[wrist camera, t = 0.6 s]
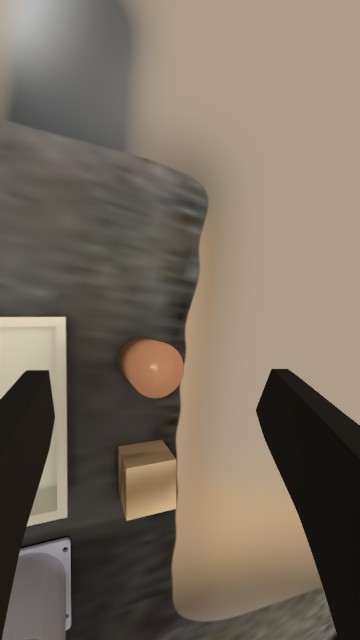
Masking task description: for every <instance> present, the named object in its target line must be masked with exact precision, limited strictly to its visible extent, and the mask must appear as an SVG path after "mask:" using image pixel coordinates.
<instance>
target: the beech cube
mask: <svg viewBox="0 0 360 640" xmlns="http://www.w3.org/2000/svg"><path fill="white" fill-rule="evenodd" d="M118 480H119V495H120V499H121V502H122V506H123V510H124V514H125V517H126V521H128V520H132V519H136V518H140V517H144V516H148V515H152V514H156V513H160V512H164V511H169V510H173V509H176V458H175V457H174V456H173V454H172V453H171V451H170V450H169V449H168V447H167V446H166V445H165V443H164V442H163V440H156V441H150V442H143V443H137V444H130V445H124V446H118Z"/></svg>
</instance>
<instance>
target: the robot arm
mask: <svg viewBox="0 0 360 640" xmlns="http://www.w3.org/2000/svg"><path fill="white" fill-rule="evenodd" d="M256 412H257V416H258V418H259V422H260V426H261V429H262V432H263V435H264V438H265V441H266V443H267V445H268V447H269V450H270V452H271V454H272V456H273V459H274V461H275V463H276V465H277V468H278V470H279V472H280V474H281V476H282V478H283V481H284V483H285V485H286V487H287V490H288V492H289V494H290V496H291V499H292V500H293V503H294V505H295V508H296V510H297V512H298V515H299V517H300V520H301V523H302V526H303V528H304V531H305V534H306V537H307V540H308V542H309V546H310V548H311V551H312V554H313V557H314V560H315V563H316V567H317V570H318V573H319V575H320V579H321V582H322V585H323V588H324V591H325V595H326V598H327V602H328V605H329V608H330V612H331V615H332V619H333V622H334V625H335V629H336V632H337V636H338V639H339V640H360V425H358V424H357V423H356V422H354V421H353V420H352V419H350V418H349V417H348V416H347V415H345V414H344V413H343V412H342V411H340V410H339V409H338V408H337V407H335V406H334V405H333V404H332V403H330V402H329V401H328V400H327V399H325V398H324V397H323V396H321V395H320V394H319V393H318V392H316V391H315V390H314V389H313V388H312V387H310V386H309V385H308V384H307V383H305V382H304V381H303V380H302V379H300V378H299V377H298V376H296V375H295V374H294V373H292V372H291V371H289V370H288V369H272V370H271V372H270V375H269V377H268V380H267V383H266V385H265V388H264V390H263V393H262V396H261V398H260V401H259V403H258V406H257V409H256ZM54 421H55V412H54V404H53V397H52V390H51V382H50V375H49V370H27V371H25V372H24V373H23V374H22V375H21V376H20V377H19V379H18V380H17V381H16V382H15V383H14V384H13V386H12V387H11V388H10V389H9V390H8V391H7V392H6V394H5V395H4V396H3V397H2V398H1V399H0V640H65V636H66V630H68V629H69V628H70V626H71V546H70V539H69V538H62V539H58V540H54V541H50V542H46V543H42V544H38V545H34V546H30V547H26V548H22V549H21V545H22V541H23V537H24V534H25V530H26V527H27V523H28V520H29V517H30V513H31V510H32V507H33V503H34V500H35V497H36V493H37V490H38V487H39V483H40V480H41V477H42V473H43V470H44V466H45V463H46V460H47V456H48V453H49V449H50V444H51V438H52V433H53V427H54ZM65 547H67V549H63V548H65ZM66 614H68V615H66Z"/></svg>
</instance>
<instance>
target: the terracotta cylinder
mask: <svg viewBox="0 0 360 640" xmlns="http://www.w3.org/2000/svg"><path fill="white" fill-rule="evenodd" d="M118 365H119V368H120V370H121V372H122V373H123V375H124V376H125V377H126V378H127V379H128V380H129V382H130V383H131V384H132V385H133V386H134V387H135V389H136V390H137V391H138V392H139V393H141V394H142V395H144V396H146V397H150V398H160V397H164V396H166V395H168V394H170V393H172V392H173V391H174V390H175V389H176V388H177V387H178V385H179V384H180V382H181V380H182V377H183V372H184V365H183V360H182V358H181V355H180V354H179V352H178V351H177V350H176V349H175V348H174V347H172V346H171V345H168V344H166V343H162V342H159V341H156V340H153V339H150V338H147V337H135V338H132V339H130V340H129V341H127V342H126V343H125V344H124V345H123V346H122V348H121V350H120V352H119V355H118Z"/></svg>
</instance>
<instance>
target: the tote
mask: <svg viewBox="0 0 360 640" xmlns="http://www.w3.org/2000/svg"><path fill="white" fill-rule="evenodd" d="M27 370H49V375H50V382H51V390H52V397H53V404H54V412H55V421H54V427H53V433H52V438H51V444H50V449H49V453H48V456H47V460H46V463H45V466H44V470H43V473H42V477H41V480H40V483H39V487H38V490H37V493H36V497H35V500H34V503H33V507H32V510H31V513H30V517H29V520H28V523H27V526H31V525H35V524H40V523H44V522H49V521H53V520H58V519H62V518H66V517H67V510H68V433H67V317H66V316H52V317H0V399H1V398H2V397H3V396H4V395H5V394H6V392H7V391H8V390H9V389H10V388H11V387H12V386H13V384H14V383H15V382H16V381H17V380H18V379H19V377H20V376H21V375H22V374H23V373H24V372H25V371H27Z"/></svg>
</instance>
